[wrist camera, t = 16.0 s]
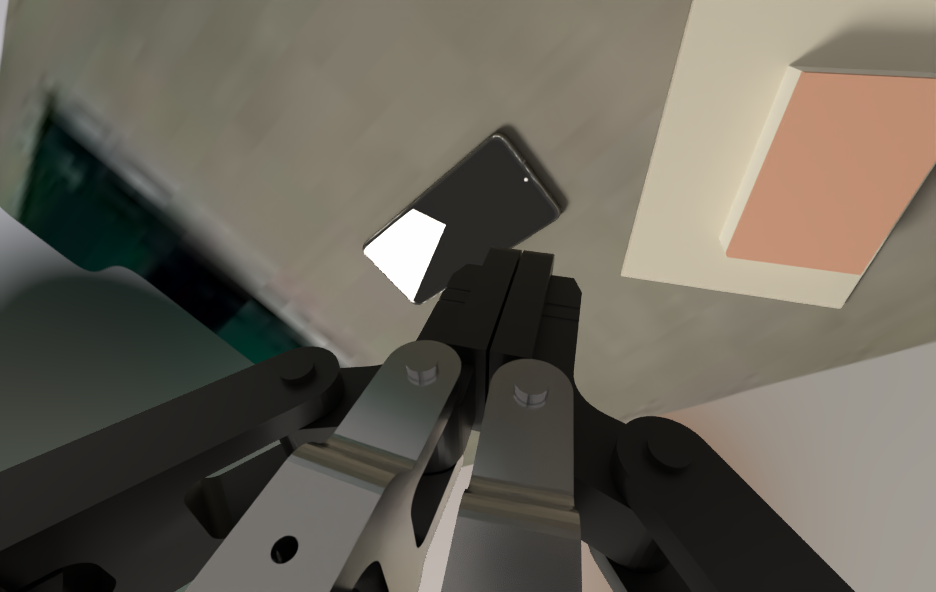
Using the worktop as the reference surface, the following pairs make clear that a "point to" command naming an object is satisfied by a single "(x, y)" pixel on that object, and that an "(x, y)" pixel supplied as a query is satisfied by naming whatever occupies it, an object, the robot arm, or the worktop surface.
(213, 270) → the worktop surface
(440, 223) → the smartphone
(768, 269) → the mat
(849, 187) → the block
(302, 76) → the worktop surface
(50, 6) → the worktop surface
